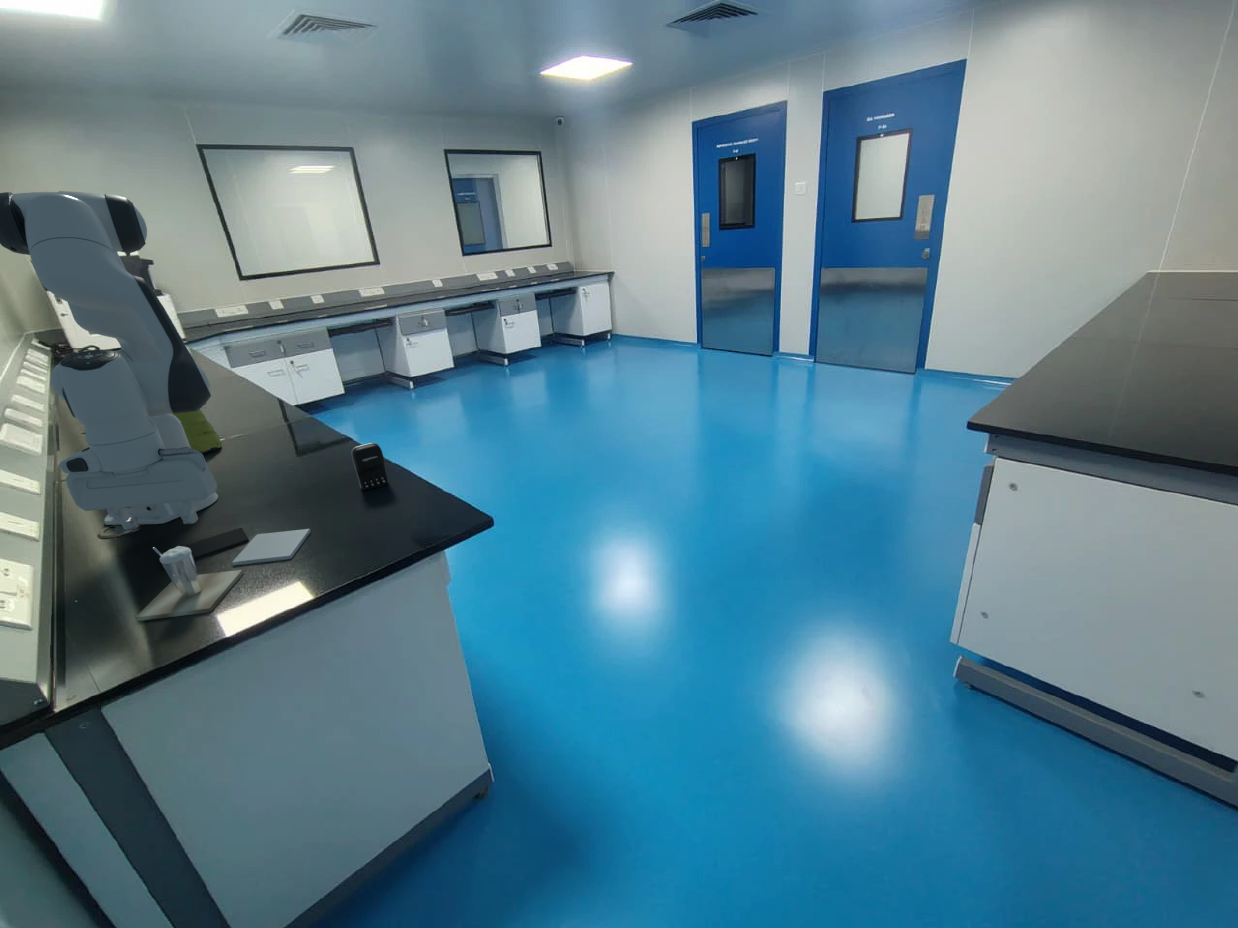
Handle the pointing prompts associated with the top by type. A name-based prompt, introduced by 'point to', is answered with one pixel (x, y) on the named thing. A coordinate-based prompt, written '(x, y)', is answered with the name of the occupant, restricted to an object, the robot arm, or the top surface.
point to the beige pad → (203, 602)
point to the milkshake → (181, 570)
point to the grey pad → (272, 547)
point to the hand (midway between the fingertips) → (162, 525)
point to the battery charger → (369, 466)
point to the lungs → (198, 430)
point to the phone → (216, 543)
